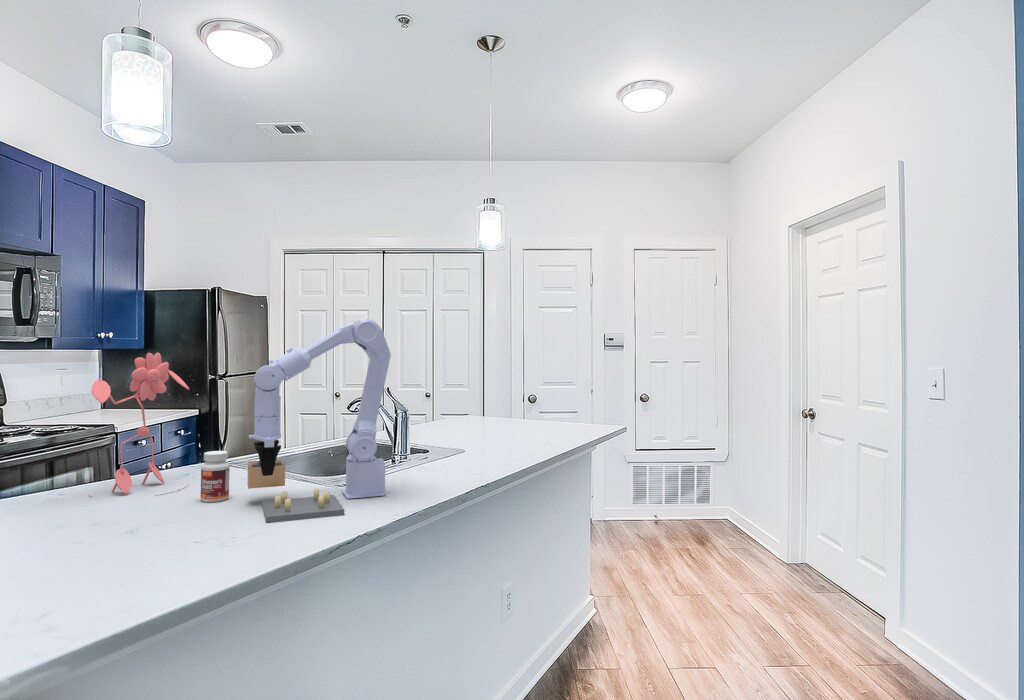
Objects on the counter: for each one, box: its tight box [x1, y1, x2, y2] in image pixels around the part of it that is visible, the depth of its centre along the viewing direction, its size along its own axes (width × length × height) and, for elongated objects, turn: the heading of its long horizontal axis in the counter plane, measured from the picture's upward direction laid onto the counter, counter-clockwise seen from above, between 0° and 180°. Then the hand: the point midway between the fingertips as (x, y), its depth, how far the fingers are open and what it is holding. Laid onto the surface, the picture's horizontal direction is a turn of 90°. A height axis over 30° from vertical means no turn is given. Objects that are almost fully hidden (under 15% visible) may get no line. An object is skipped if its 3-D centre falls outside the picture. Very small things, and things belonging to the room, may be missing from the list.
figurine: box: [88, 352, 190, 498], centre depth 152 cm, size 15×26×35 cm, turn 167°
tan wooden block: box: [246, 459, 286, 490], centre depth 142 cm, size 8×5×6 cm, turn 116°
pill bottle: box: [200, 450, 231, 503], centre depth 144 cm, size 6×6×11 cm
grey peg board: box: [262, 488, 345, 524], centre depth 135 cm, size 16×14×4 cm
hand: (267, 473), depth 142 cm, fingers closed on tan wooden block, 4 cm apart
